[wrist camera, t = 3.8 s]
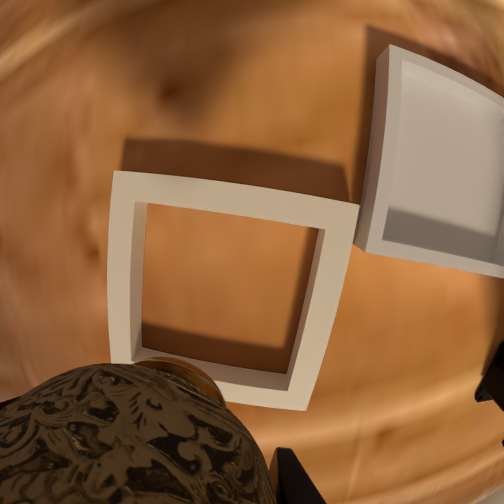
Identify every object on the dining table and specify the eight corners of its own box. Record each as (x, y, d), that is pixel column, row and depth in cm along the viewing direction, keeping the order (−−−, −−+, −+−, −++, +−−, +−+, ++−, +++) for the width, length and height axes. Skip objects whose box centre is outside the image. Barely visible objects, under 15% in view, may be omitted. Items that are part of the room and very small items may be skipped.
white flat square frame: (349, 202, 17) (359, 205, 15) (303, 393, 20) (305, 410, 18) (129, 171, 17) (114, 170, 15) (123, 359, 20) (112, 372, 18)
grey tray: (508, 118, 14) (528, 114, 12) (490, 270, 17) (510, 279, 15) (376, 59, 15) (389, 43, 12) (352, 243, 17) (365, 252, 15)
